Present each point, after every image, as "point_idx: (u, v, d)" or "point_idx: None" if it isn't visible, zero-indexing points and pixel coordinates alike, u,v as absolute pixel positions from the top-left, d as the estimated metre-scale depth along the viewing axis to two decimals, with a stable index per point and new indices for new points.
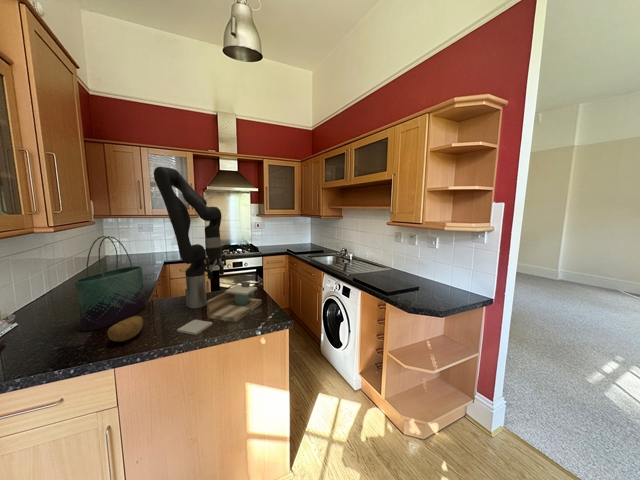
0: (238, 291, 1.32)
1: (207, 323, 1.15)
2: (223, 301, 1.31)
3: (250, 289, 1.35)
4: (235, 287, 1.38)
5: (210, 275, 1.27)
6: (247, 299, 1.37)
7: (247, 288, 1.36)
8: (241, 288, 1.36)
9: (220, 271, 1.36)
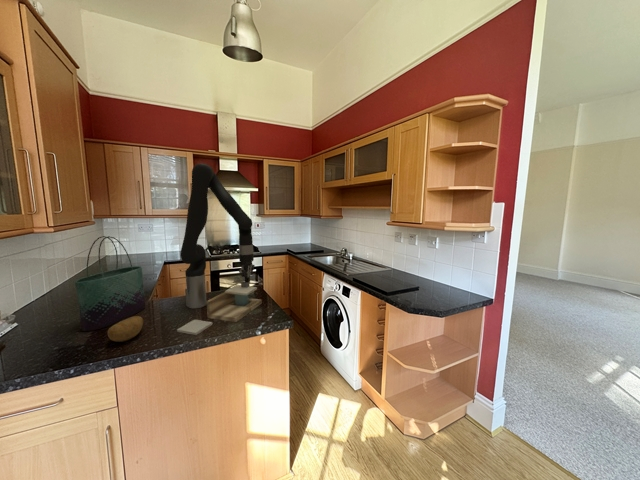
0: (238, 291, 1.31)
1: (207, 323, 1.15)
2: (223, 301, 1.31)
3: (250, 289, 1.34)
4: (235, 287, 1.37)
5: (247, 280, 1.40)
6: (247, 299, 1.37)
7: (247, 288, 1.36)
8: (241, 288, 1.36)
9: None
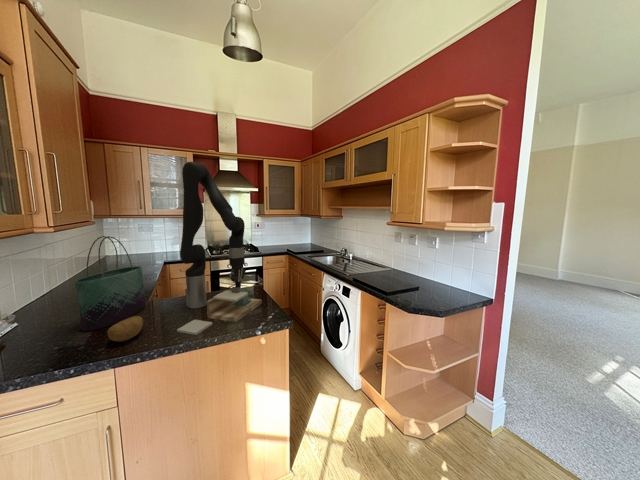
0: (227, 297, 1.23)
1: (207, 323, 1.15)
2: (223, 301, 1.31)
3: (240, 295, 1.26)
4: (224, 293, 1.29)
5: (238, 285, 1.31)
6: (247, 299, 1.37)
7: (237, 294, 1.28)
8: (231, 294, 1.28)
9: None
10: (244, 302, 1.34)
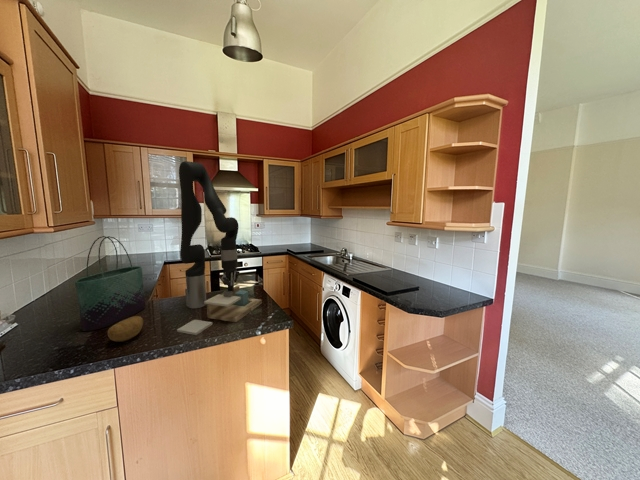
0: (219, 302, 1.17)
1: (207, 323, 1.15)
2: None
3: (233, 299, 1.20)
4: (216, 297, 1.23)
5: (230, 288, 1.26)
6: (247, 299, 1.37)
7: (229, 298, 1.22)
8: (223, 298, 1.22)
9: None
10: (244, 302, 1.34)
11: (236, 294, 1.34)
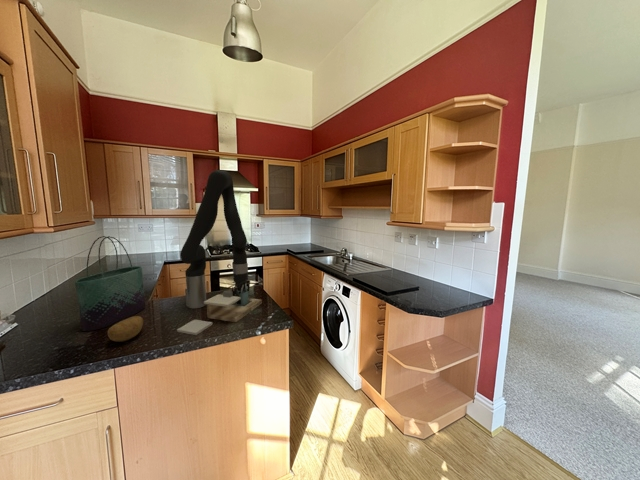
0: (218, 302, 1.17)
1: (207, 323, 1.15)
2: None
3: (232, 299, 1.20)
4: (216, 297, 1.23)
5: (239, 300, 1.33)
6: (247, 299, 1.37)
7: (229, 298, 1.22)
8: (222, 298, 1.22)
9: None
10: (244, 302, 1.34)
11: None
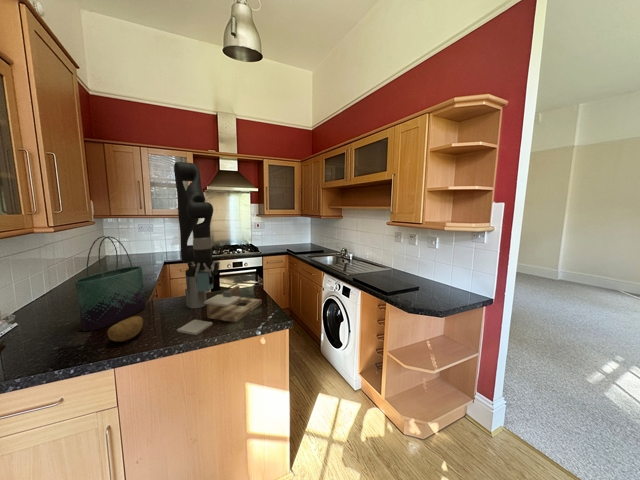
0: (218, 302, 1.17)
1: (207, 323, 1.15)
2: None
3: (232, 299, 1.20)
4: (216, 297, 1.23)
5: (196, 280, 1.14)
6: (205, 283, 1.13)
7: (229, 298, 1.22)
8: (222, 298, 1.22)
9: None
10: (199, 284, 1.13)
11: None
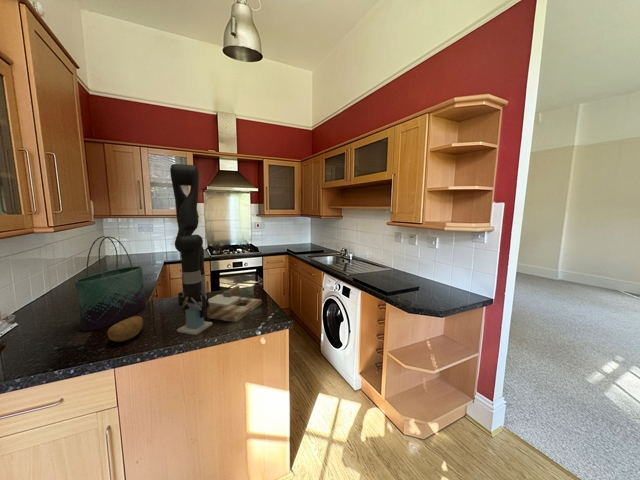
0: (218, 302, 1.17)
1: (207, 323, 1.15)
2: None
3: (232, 299, 1.20)
4: (216, 297, 1.23)
5: (183, 310, 1.13)
6: (193, 321, 1.09)
7: (229, 298, 1.22)
8: (222, 298, 1.22)
9: None
10: (187, 321, 1.10)
11: None
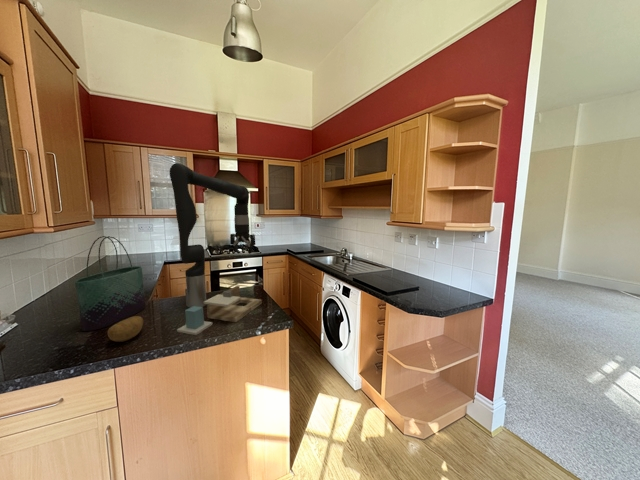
0: (218, 302, 1.17)
1: (207, 323, 1.15)
2: None
3: (232, 299, 1.20)
4: (216, 297, 1.23)
5: (234, 248, 1.40)
6: (193, 321, 1.09)
7: (229, 298, 1.22)
8: (222, 298, 1.22)
9: None
10: (187, 321, 1.10)
11: None
